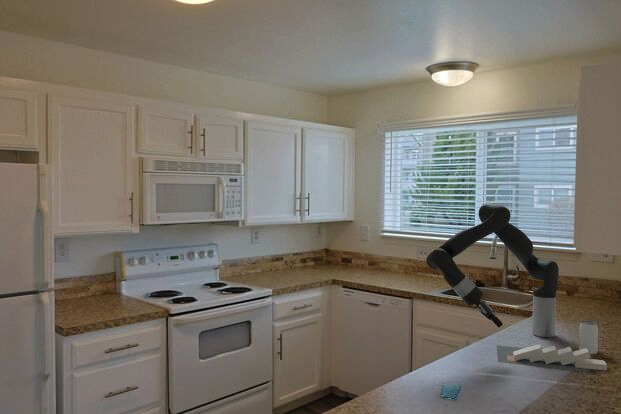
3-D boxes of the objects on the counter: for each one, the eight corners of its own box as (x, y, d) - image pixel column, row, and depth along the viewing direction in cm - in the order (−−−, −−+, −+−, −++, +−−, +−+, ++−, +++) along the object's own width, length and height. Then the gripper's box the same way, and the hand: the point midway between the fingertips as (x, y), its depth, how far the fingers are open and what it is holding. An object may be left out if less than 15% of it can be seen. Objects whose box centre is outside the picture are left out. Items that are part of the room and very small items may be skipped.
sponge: (435, 396, 158) (455, 397, 156) (442, 382, 169) (460, 383, 167) (436, 401, 158) (455, 402, 156) (443, 387, 169) (461, 388, 167)
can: (580, 349, 209) (581, 319, 208) (598, 352, 204) (599, 322, 204) (577, 352, 204) (577, 322, 203) (595, 356, 199) (596, 325, 199)
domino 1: (513, 351, 196) (539, 343, 193) (515, 356, 196) (541, 349, 193) (513, 355, 192) (541, 347, 189) (516, 360, 192) (543, 353, 189)
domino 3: (542, 354, 193) (569, 346, 190) (544, 359, 193) (572, 351, 190) (544, 358, 188) (572, 350, 185) (546, 364, 188) (574, 355, 185)
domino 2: (527, 353, 195) (554, 345, 192) (529, 358, 195) (556, 350, 192) (528, 357, 190) (556, 349, 187) (530, 362, 190) (558, 354, 187)
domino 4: (558, 356, 191) (586, 347, 188) (560, 361, 191) (588, 353, 188) (560, 360, 187) (588, 351, 184) (562, 365, 187) (591, 357, 183)
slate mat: (496, 346, 211) (496, 345, 211) (578, 354, 201) (578, 353, 201) (497, 363, 190) (497, 361, 190) (589, 373, 181) (589, 371, 181)
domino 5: (573, 357, 190) (603, 360, 187) (573, 362, 190) (603, 366, 187) (575, 361, 185) (607, 364, 182) (575, 367, 185) (606, 370, 182)
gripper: (475, 287, 191) (509, 323, 188) (475, 281, 204) (507, 315, 200) (459, 300, 193) (493, 336, 190) (461, 294, 206) (493, 327, 202)
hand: (500, 325), depth 195 cm, fingers closed
